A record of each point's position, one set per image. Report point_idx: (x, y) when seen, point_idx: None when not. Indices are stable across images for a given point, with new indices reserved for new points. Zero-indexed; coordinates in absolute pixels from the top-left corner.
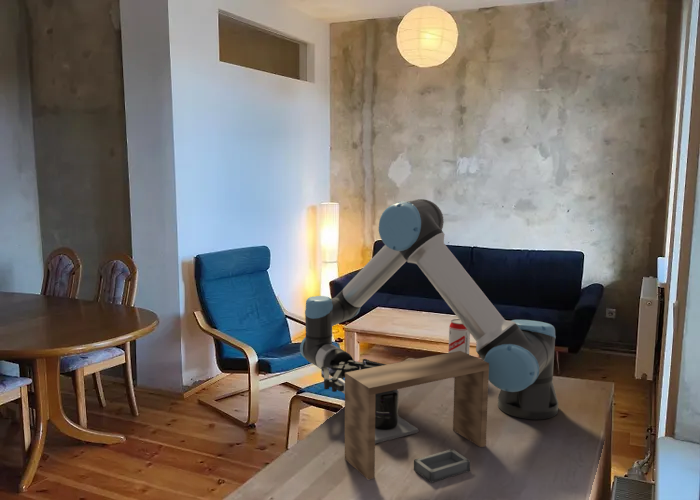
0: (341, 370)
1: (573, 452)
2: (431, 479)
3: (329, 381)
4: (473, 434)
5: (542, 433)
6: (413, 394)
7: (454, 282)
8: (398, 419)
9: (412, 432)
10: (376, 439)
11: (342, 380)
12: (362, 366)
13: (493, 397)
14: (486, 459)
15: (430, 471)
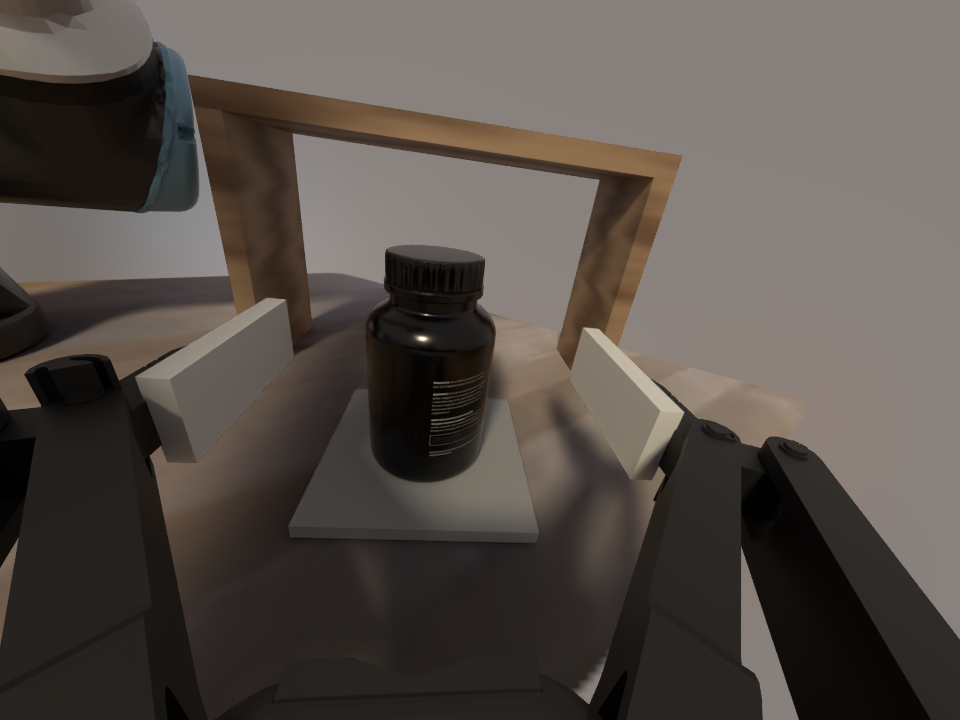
0: (649, 595)
1: (217, 283)
2: None
3: (751, 447)
4: (300, 318)
5: (147, 306)
6: None
7: None
8: (344, 450)
9: None
10: (501, 399)
11: (642, 381)
12: (163, 639)
13: None
14: (349, 314)
15: (480, 305)
